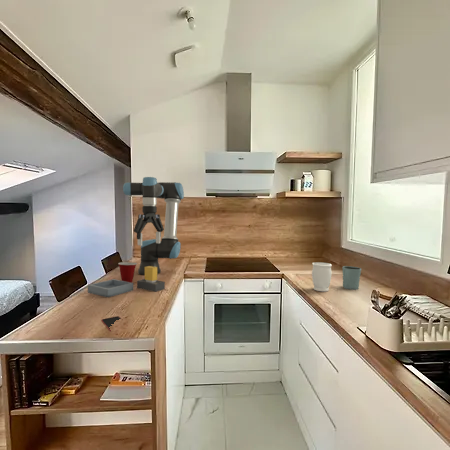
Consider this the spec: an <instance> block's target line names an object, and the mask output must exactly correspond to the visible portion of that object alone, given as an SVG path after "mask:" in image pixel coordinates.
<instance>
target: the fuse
mask: <svg viewBox="0 0 450 450" xmlns="http://www.w3.org/2000/svg"><path fill="white" fill-rule="evenodd" d="M144 279H145V280H146V282H151V283H153V282H156V280H158V274H157V267H153V266H147V267H145V275H144Z"/></svg>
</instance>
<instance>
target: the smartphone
mask: <svg viewBox="0 0 450 450" xmlns="http://www.w3.org/2000/svg"><path fill="white" fill-rule="evenodd" d="M119 319H122V318H121V317H120V316H111V317H106V318H102V319H100V321H101V322H102V323H103V324H104V326H105V325H106V326H107V327H106V326H105V327H106V328H107V329H108V331H109V332H111V330H110V328H109V327H110V326H112V325H111V324H114V322H115V321H116V320H119Z"/></svg>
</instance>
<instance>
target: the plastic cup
mask: <svg viewBox="0 0 450 450" xmlns="http://www.w3.org/2000/svg"><path fill="white" fill-rule="evenodd" d="M137 264H138V263H137V262H132V261H131V262H128V261H126V262H125V261H122V262H118V264H117V265H118V268H119V272H120V278H121V281H126V282H131V283H133V281H134V276H135V270H136V267H137Z"/></svg>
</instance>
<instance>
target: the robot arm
mask: <svg viewBox="0 0 450 450" xmlns="http://www.w3.org/2000/svg"><path fill="white" fill-rule="evenodd" d="M122 190H123V194H124V195H125V196H131V197H132V196H134V197H136V196H139V197H140V196H142V207H141V208H142V214H138V216H137V220H136V223H135V225H134V228H133V233H136V240H137V246H140V264H139V267H138V270H137V272H138V273H137V274H138V275H142V276H145V267H147V266H153V267H157V275H159V274H161V272H162V271H161V267H160V263H159V259H177V258H178V257H179V255H180V252H181V245H182V244H181V242H180V241H179V239H178V236H177V234H178V233H177V231H178V217H179V205H180V203H181V201H182V200H183V199H184V197H185V194H184V186H183V185H182V183H181V182H161V181H160V182H158V180H157V177H153V176H145V177H143V178H142V182H124V184H123V188H122ZM157 199H163V200H164V202H165V213H164V214H165V216H164V217H165V218H164V226H163V223H162V220H161V215H160V214H156V213H157V202H158V201H157ZM148 223H151V224H152V226H154V229H155V230H156V232H155V238H153V239H146V240H143V233H142V232H143V231H144V228H145V227H146V225H147V224H148ZM162 232H163V236H162Z"/></svg>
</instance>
